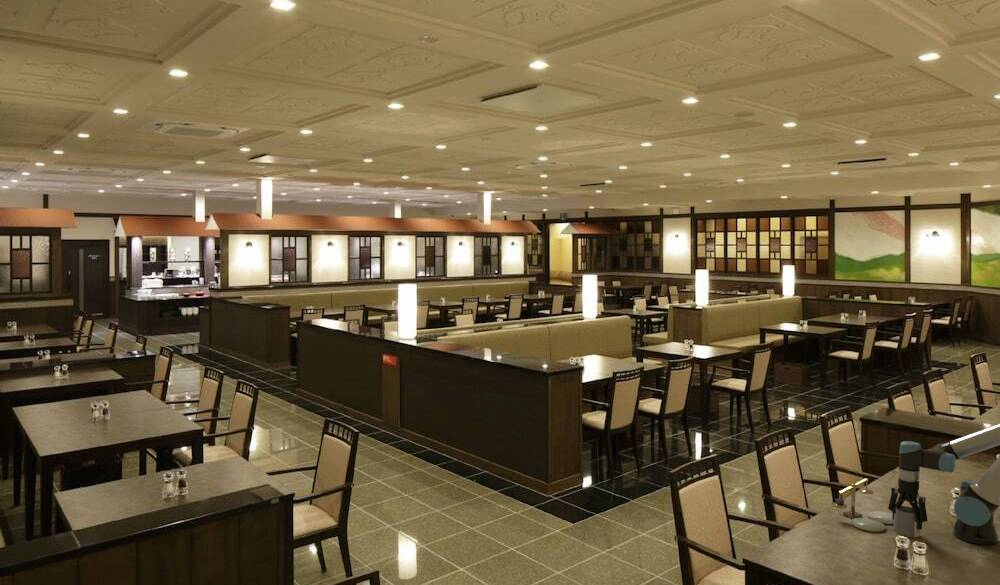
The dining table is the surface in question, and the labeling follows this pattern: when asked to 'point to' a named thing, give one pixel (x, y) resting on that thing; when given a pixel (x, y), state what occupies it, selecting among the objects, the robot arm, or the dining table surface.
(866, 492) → the balance
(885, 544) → the dining table surface
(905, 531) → the cup
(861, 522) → the dish green
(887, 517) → the white dome
